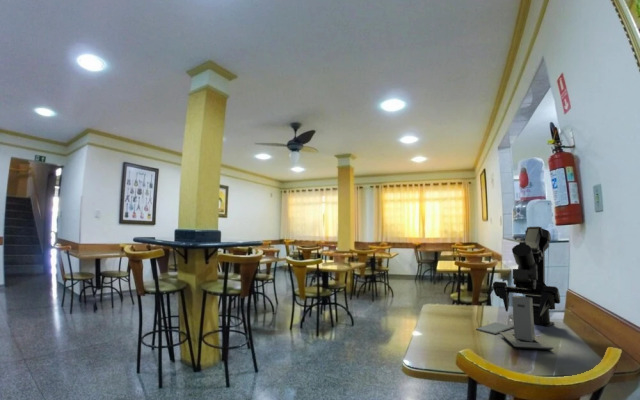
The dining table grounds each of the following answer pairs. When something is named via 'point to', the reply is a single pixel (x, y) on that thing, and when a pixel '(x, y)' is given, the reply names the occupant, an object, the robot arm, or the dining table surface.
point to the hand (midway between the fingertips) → (522, 313)
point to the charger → (523, 318)
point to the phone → (495, 328)
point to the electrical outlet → (526, 342)
